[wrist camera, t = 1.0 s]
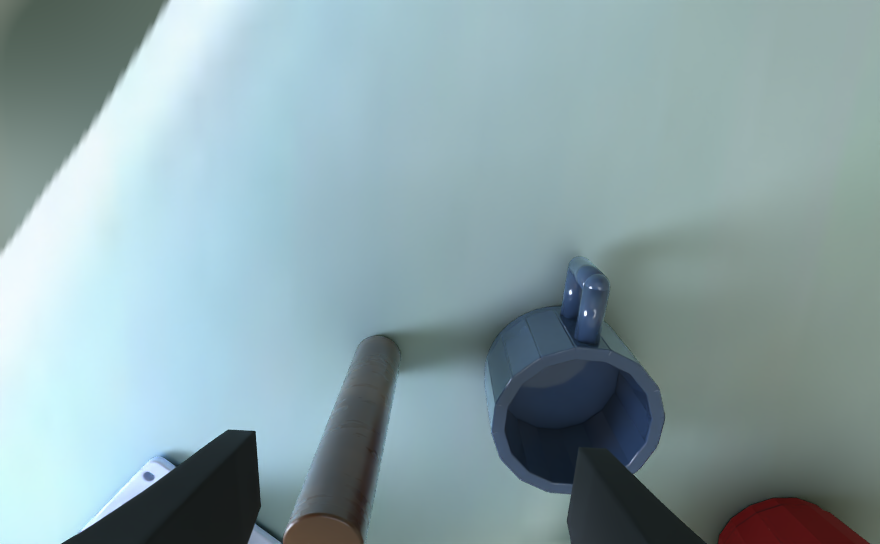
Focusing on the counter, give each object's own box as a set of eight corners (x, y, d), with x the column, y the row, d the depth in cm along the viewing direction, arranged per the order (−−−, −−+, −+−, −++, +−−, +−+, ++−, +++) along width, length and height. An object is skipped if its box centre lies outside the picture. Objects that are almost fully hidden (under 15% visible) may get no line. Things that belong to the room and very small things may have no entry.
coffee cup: (610, 435, 22) (644, 500, 19) (477, 425, 22) (483, 488, 18) (650, 256, 20) (699, 289, 16) (500, 243, 20) (512, 273, 16)
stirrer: (379, 384, 22) (327, 591, 12) (346, 355, 21) (264, 547, 12) (410, 356, 21) (381, 548, 12) (377, 326, 21) (318, 500, 11)
